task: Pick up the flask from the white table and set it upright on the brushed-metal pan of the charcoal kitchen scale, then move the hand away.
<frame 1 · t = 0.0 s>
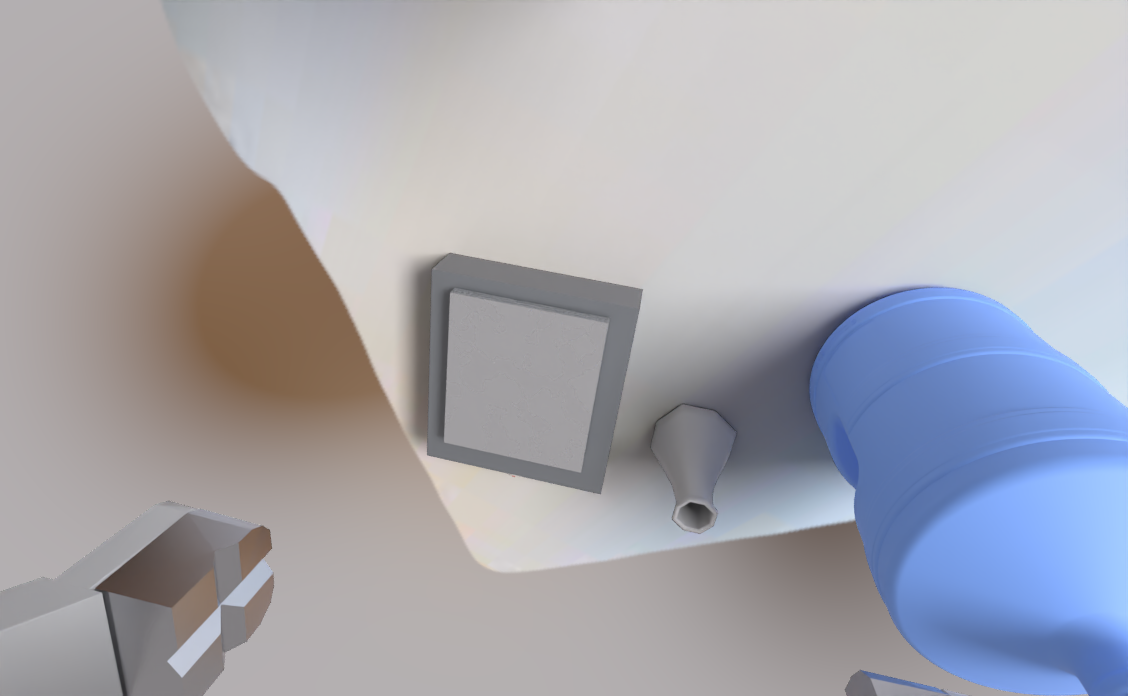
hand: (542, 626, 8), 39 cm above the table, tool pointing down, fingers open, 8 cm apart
water jug: (912, 375, 46), on the table
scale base: (533, 366, 52), on the table
flask: (692, 437, 52), on the table
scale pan: (520, 384, 47), point 5 cm above the table, slide at -0.4 cm
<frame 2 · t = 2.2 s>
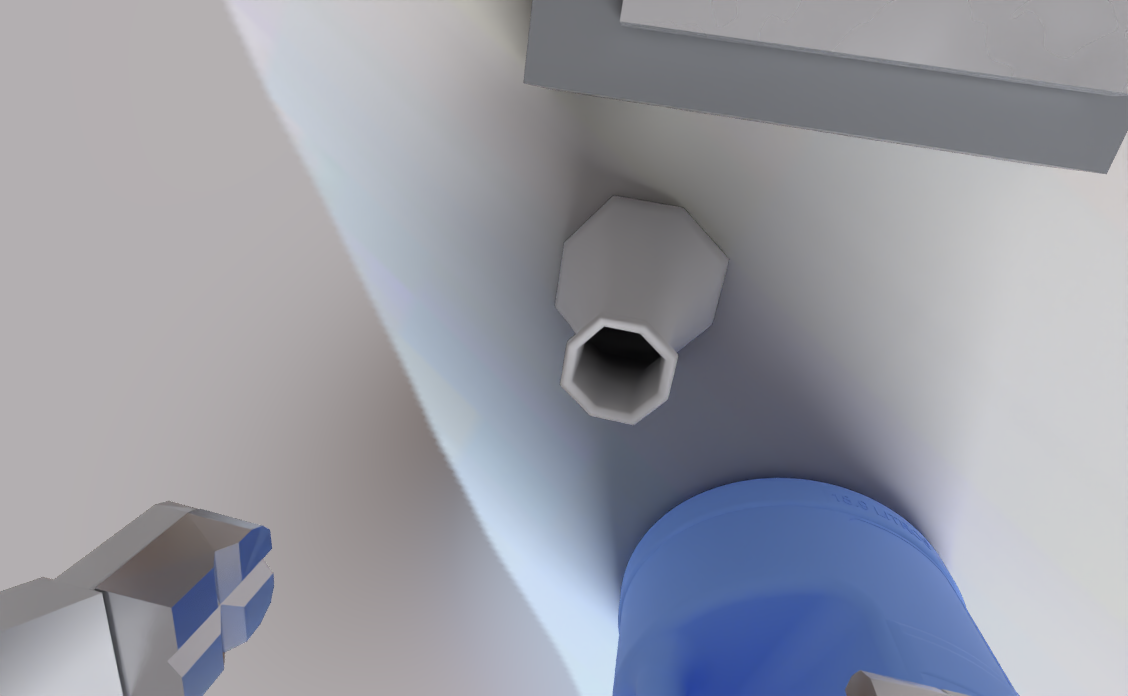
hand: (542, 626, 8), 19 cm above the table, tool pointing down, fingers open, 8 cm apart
water jug: (775, 597, 30), on the table
flask: (639, 280, 26), on the table
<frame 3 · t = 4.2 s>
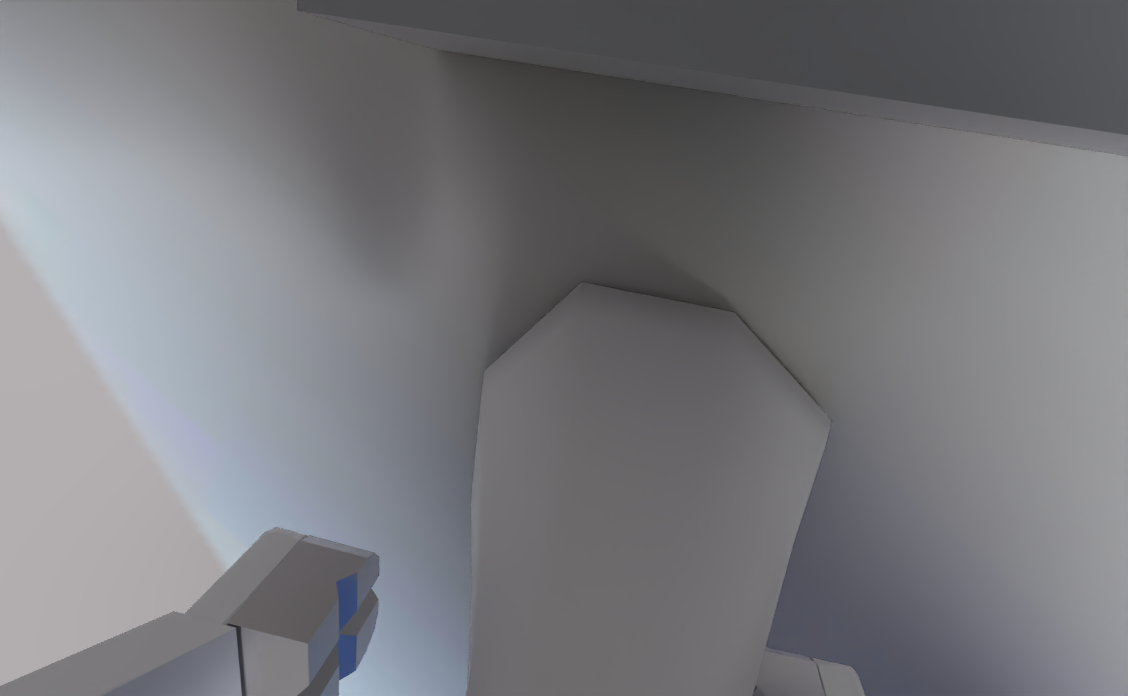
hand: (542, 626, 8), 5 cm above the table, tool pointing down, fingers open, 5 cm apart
flask: (637, 443, 13), on the table, touching gripper
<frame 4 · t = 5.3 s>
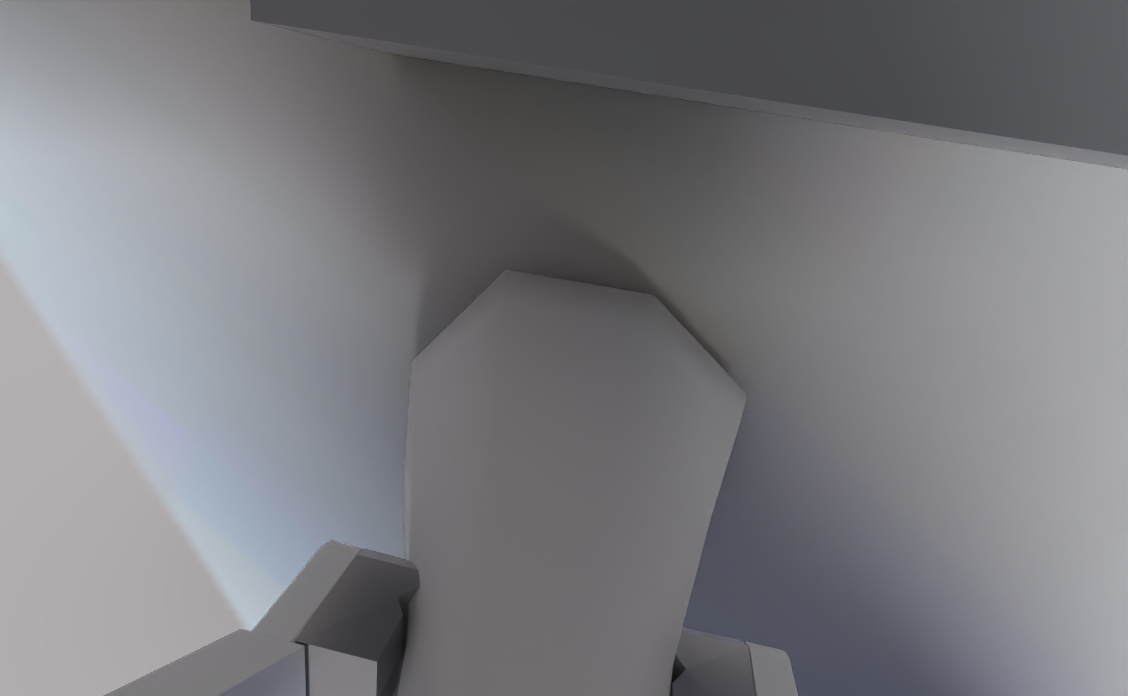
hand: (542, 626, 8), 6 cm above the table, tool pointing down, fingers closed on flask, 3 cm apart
flask: (567, 426, 13), on the table, touching gripper
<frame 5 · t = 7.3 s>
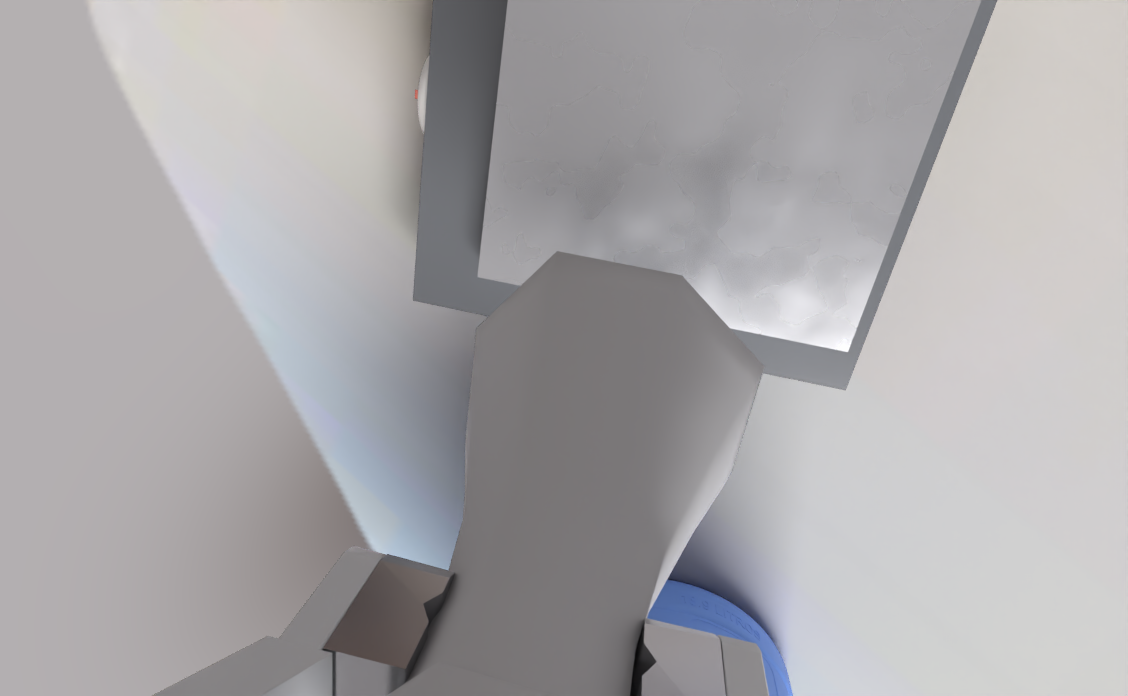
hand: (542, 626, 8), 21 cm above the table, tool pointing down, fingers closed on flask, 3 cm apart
water jug: (651, 668, 36), on the table
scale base: (666, 136, 25), on the table
flask: (606, 391, 15), point 13 cm above the table, touching gripper
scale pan: (696, 145, 20), point 5 cm above the table, slide at -0.4 cm
when the fingers open (12 cm above the table, at t = 8.8 s): flask stays where it is, resting on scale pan.
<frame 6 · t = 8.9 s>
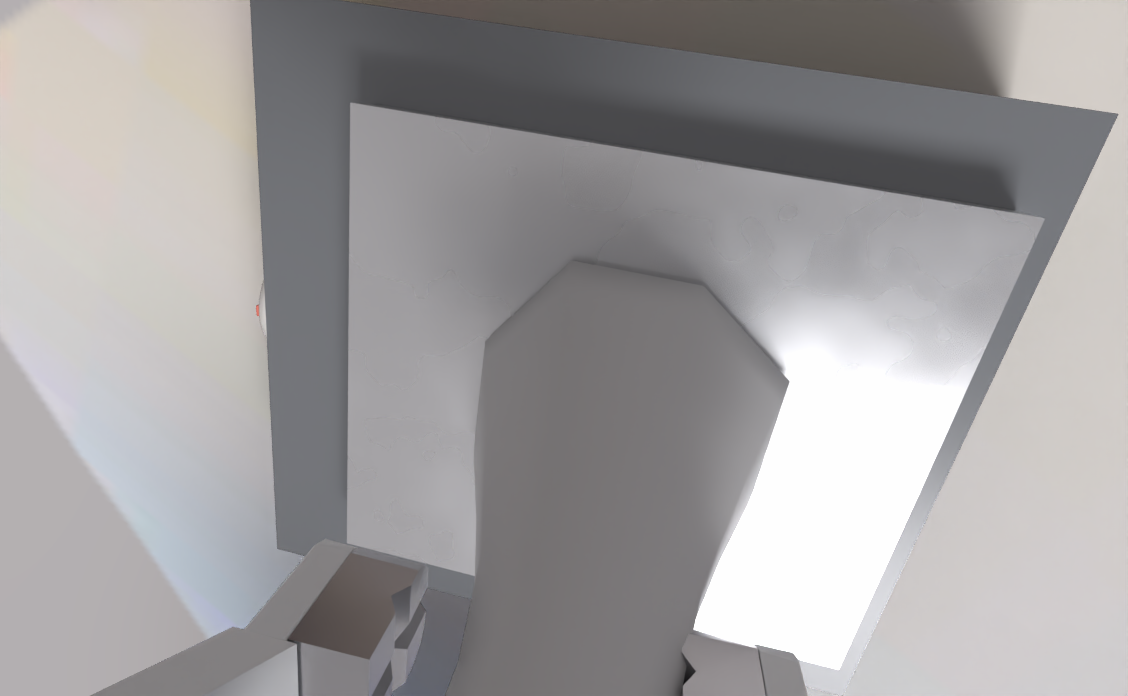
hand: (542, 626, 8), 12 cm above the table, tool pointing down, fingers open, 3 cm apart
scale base: (603, 337, 19), on the table
flask: (621, 406, 14), point 5 cm above the table, touching gripper, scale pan
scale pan: (622, 406, 15), point 5 cm above the table, slide at -0.8 cm, touching flask
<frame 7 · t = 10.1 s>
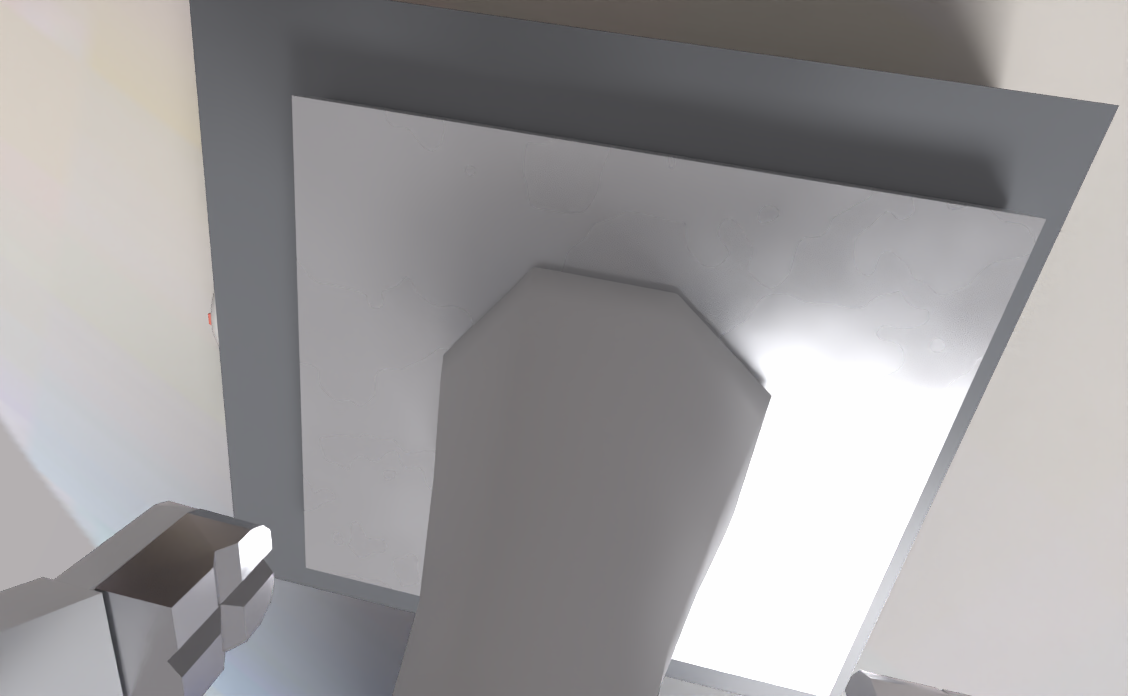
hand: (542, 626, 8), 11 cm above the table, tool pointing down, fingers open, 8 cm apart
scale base: (580, 343, 18), on the table
flask: (593, 422, 13), point 5 cm above the table, touching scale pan
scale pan: (594, 422, 14), point 5 cm above the table, slide at -0.6 cm, touching flask
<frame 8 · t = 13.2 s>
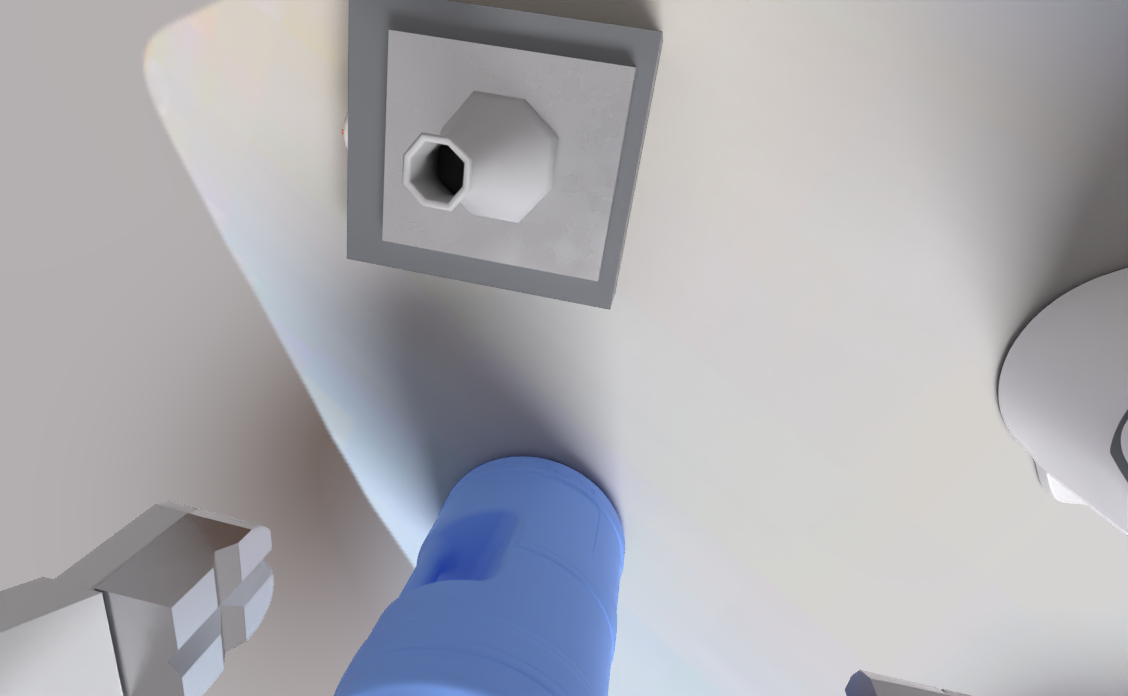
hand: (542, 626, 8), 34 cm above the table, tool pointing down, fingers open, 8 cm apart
water jug: (534, 529, 50), on the table
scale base: (504, 154, 39), on the table
flask: (498, 158, 35), point 5 cm above the table, touching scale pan
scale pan: (500, 160, 35), point 5 cm above the table, slide at -0.6 cm, touching flask
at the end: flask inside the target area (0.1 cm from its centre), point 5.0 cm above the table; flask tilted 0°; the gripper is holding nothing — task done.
